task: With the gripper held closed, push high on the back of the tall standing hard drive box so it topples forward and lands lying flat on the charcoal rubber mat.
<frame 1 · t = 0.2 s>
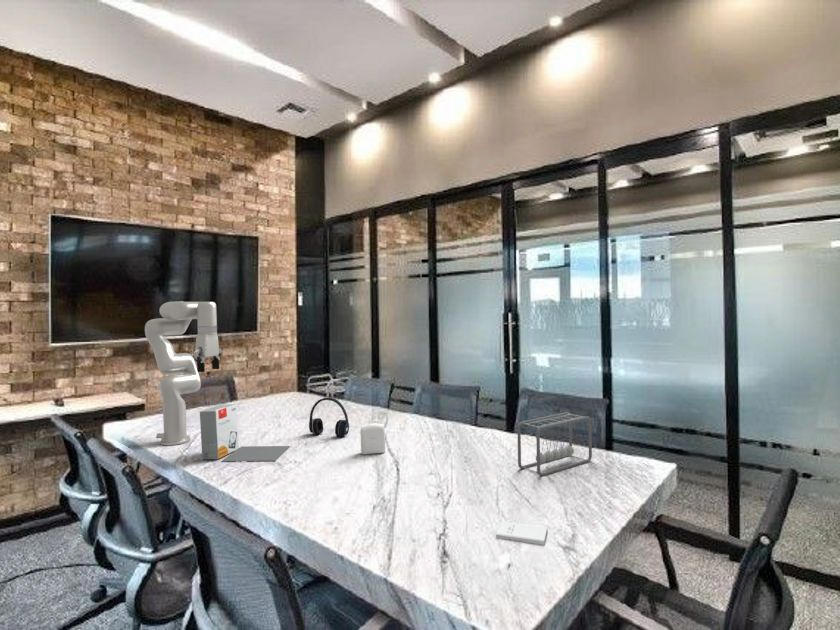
hand: (208, 370, 201), 36 cm above the table, tool pointing down, fingers open, 9 cm apart
rubber mat: (257, 454, 200), on the table
photo printer: (373, 453, 199), on the table
newton's cradle: (555, 465, 179), on the table
headphones: (329, 436, 228), on the table
external hard drive: (522, 536, 126), on the table
hard drive box: (221, 454, 201), on the table, touching rubber mat
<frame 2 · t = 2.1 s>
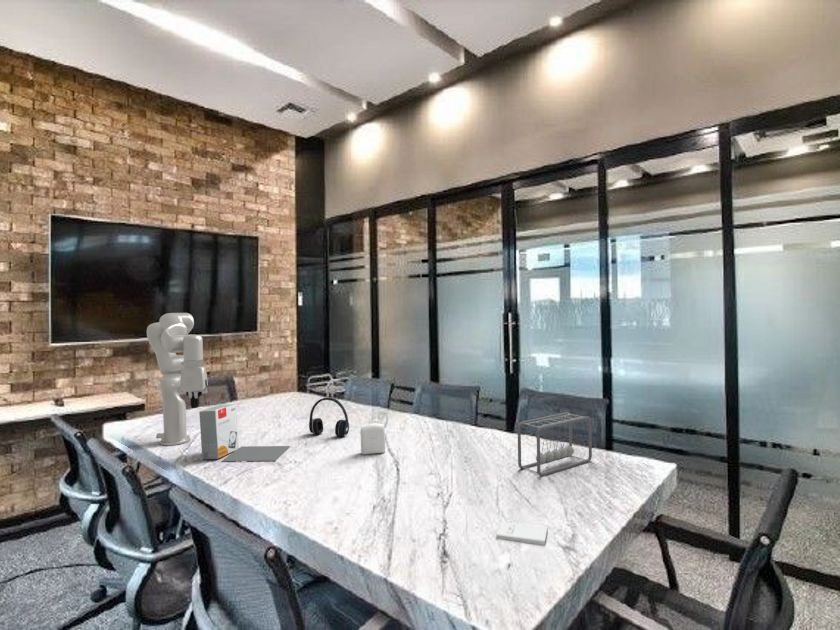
hand: (195, 407, 200), 20 cm above the table, tool pointing down, fingers closed
nothing on the table moved.
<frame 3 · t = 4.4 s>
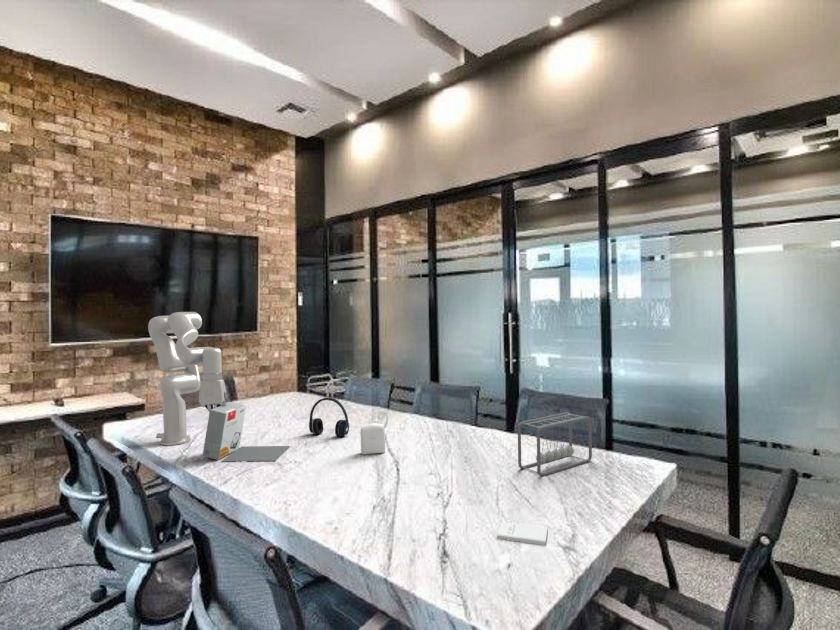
hand: (213, 419, 200), 15 cm above the table, tool pointing down, fingers closed
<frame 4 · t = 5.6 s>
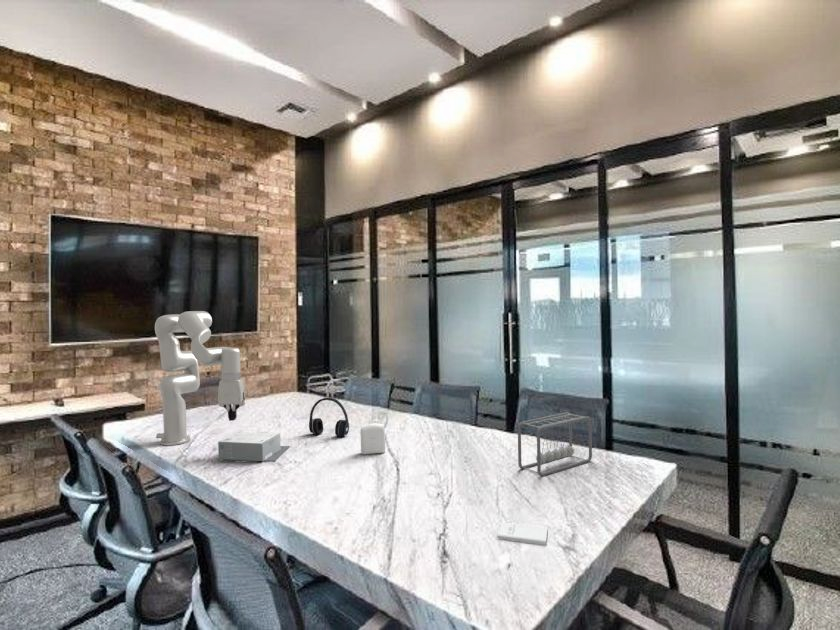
hand: (232, 419, 200), 15 cm above the table, tool pointing down, fingers closed
hard drive box: (228, 445, 200), point 4 cm above the table, touching rubber mat
everything else where it was.
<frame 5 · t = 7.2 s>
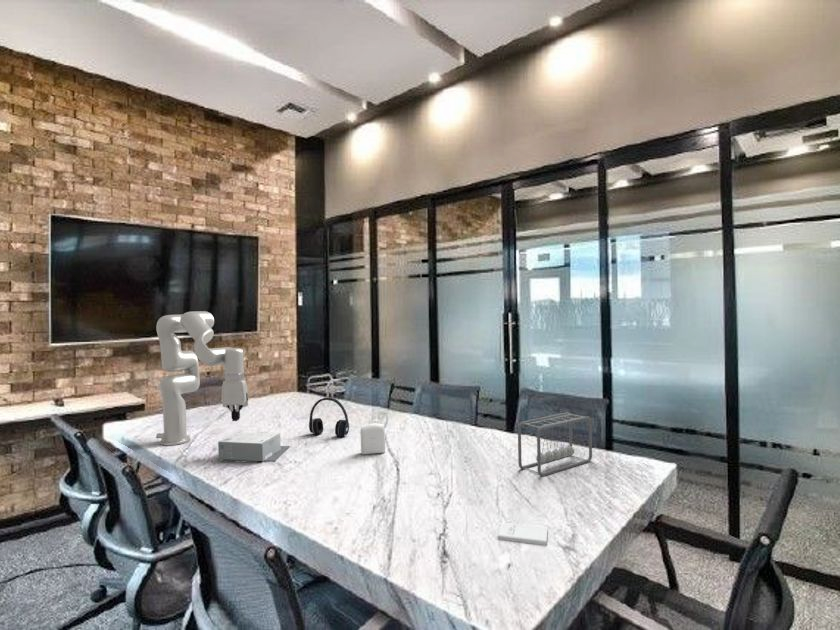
hand: (235, 420, 200), 15 cm above the table, tool pointing down, fingers closed
nothing on the table moved.
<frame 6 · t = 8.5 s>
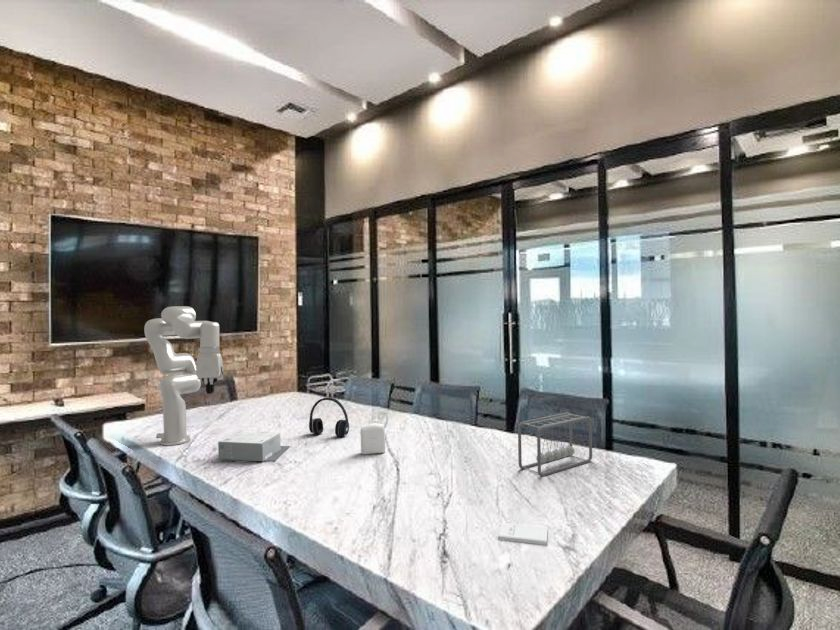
hand: (210, 393, 202), 26 cm above the table, tool pointing down, fingers closed
nothing on the table moved.
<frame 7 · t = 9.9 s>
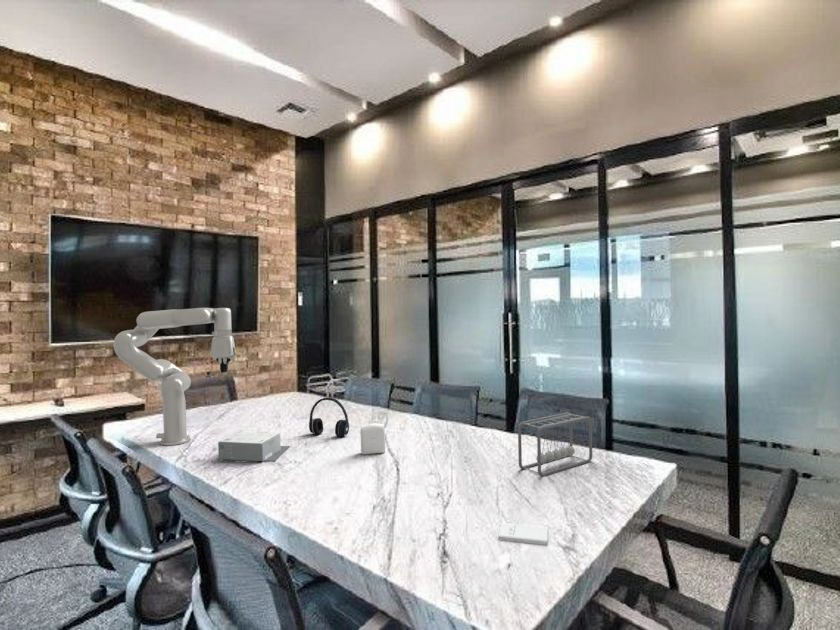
hand: (224, 372, 225), 32 cm above the table, tool pointing down, fingers closed
nothing on the table moved.
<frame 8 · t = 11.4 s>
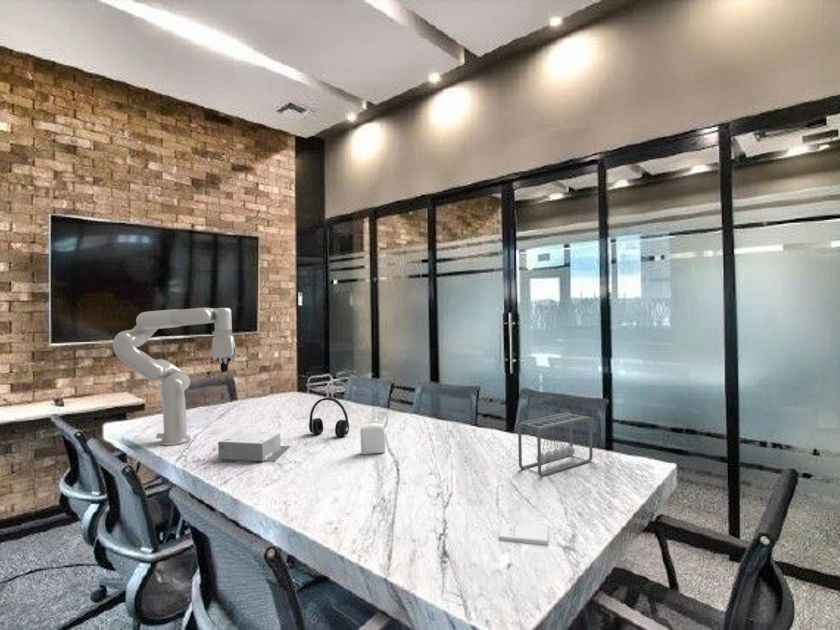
hand: (224, 371, 225), 32 cm above the table, tool pointing down, fingers closed
nothing on the table moved.
at the end: hard drive box tilted 90°; hard drive box touching rubber mat; hard drive box inside the target area (8.1 cm from its centre), point 4.1 cm above the table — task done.
